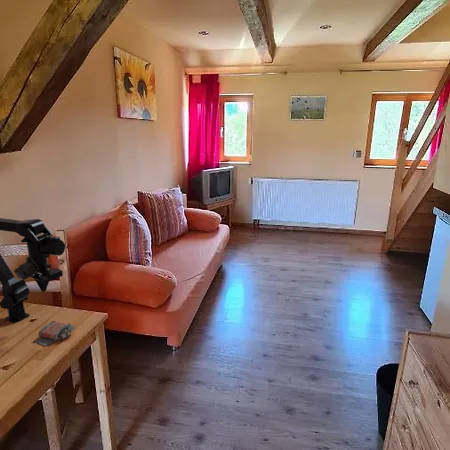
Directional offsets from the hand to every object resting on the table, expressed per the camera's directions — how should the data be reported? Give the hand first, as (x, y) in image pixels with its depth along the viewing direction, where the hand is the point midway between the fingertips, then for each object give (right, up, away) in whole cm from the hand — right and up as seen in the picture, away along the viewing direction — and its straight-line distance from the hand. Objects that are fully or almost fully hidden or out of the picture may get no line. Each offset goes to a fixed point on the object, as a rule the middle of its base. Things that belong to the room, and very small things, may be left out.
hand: (43, 291), depth 131 cm
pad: (+7, -15, -7) cm, 18 cm away
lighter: (+4, -13, -5) cm, 14 cm away
